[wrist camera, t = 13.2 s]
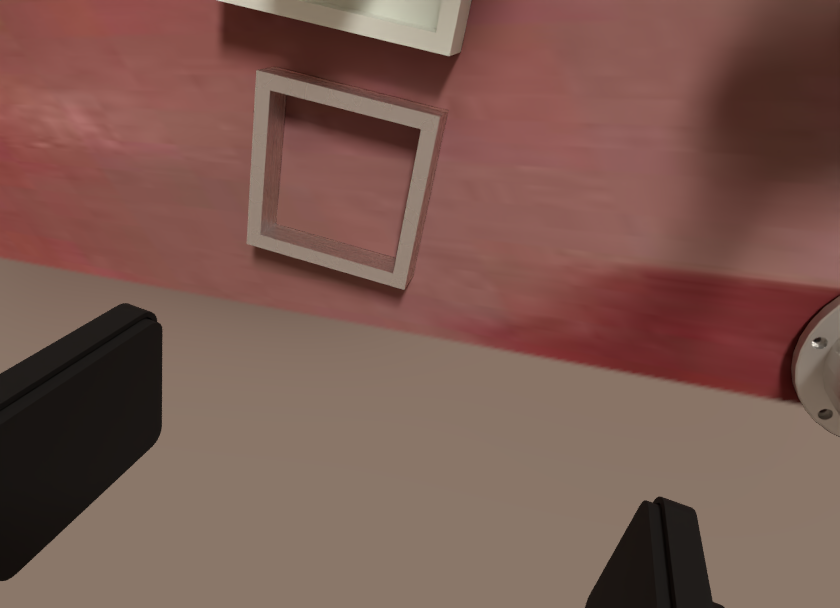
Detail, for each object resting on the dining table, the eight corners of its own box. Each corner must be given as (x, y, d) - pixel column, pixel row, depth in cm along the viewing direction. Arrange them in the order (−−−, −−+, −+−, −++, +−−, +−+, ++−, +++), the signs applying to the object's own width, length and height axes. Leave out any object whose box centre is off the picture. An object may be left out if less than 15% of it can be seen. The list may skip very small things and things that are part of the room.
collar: (448, 110, 38) (440, 116, 36) (413, 275, 43) (404, 290, 41) (274, 66, 39) (256, 70, 37) (262, 232, 45) (246, 243, 43)
